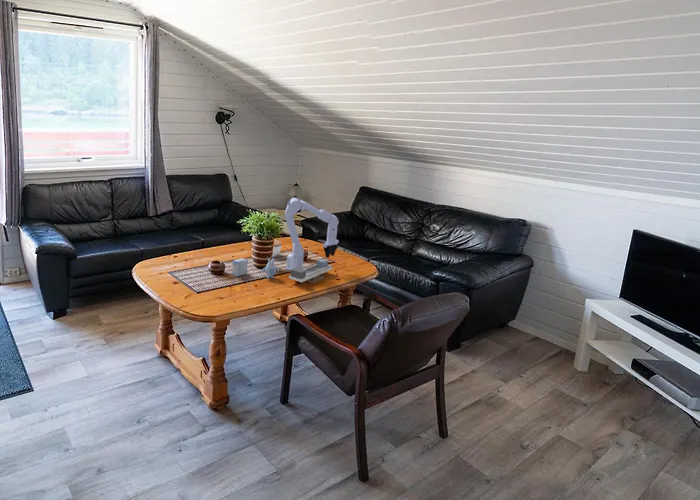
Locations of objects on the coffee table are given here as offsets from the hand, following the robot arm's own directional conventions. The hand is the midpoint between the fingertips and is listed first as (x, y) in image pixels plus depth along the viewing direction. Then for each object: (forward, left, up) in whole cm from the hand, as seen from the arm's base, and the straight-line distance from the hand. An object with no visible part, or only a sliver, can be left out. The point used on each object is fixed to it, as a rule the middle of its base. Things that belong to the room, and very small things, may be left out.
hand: (329, 256), depth 316 cm
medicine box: (-33, -44, -10) cm, 56 cm away
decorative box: (-43, -3, -10) cm, 44 cm away
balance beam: (0, -19, -9) cm, 21 cm away
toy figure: (-17, -36, -10) cm, 41 cm away
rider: (0, -8, -5) cm, 9 cm away
